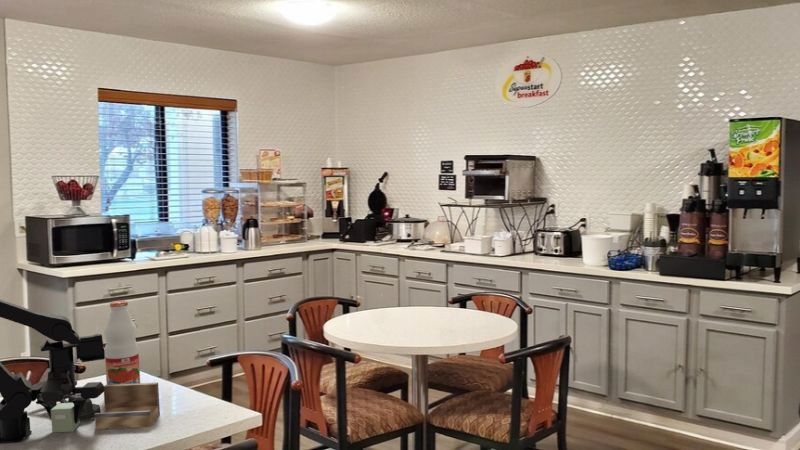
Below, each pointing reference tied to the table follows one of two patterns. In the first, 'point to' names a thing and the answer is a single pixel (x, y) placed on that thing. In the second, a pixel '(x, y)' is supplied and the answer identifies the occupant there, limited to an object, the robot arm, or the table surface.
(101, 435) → the table surface
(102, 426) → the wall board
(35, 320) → the robot arm
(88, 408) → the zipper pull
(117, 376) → the fruit juice
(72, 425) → the cabinet block
